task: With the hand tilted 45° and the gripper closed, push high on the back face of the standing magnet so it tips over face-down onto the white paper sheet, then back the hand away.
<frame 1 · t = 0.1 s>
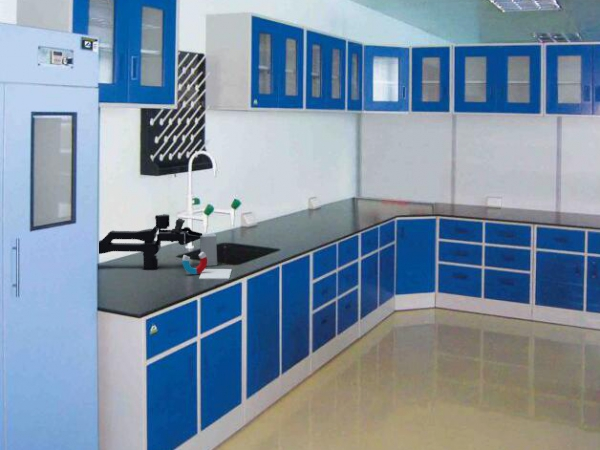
hand: (201, 235, 380), 17 cm above the countertop, tool horizontal, fingers open, 9 cm apart
magnet: (196, 274, 369), on the countertop, touching white paper sheet
white paper sheet: (215, 274, 370), on the countertop
skincare box: (208, 265, 391), on the countertop
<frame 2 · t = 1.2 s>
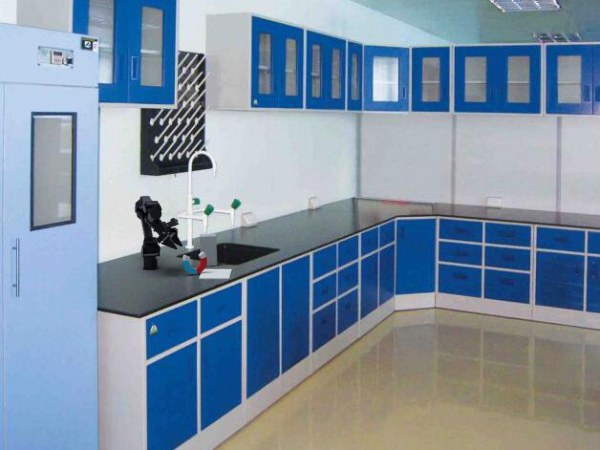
hand: (179, 247, 369), 13 cm above the countertop, tool tilted 45°, fingers open, 9 cm apart
nothing on the countertop moved.
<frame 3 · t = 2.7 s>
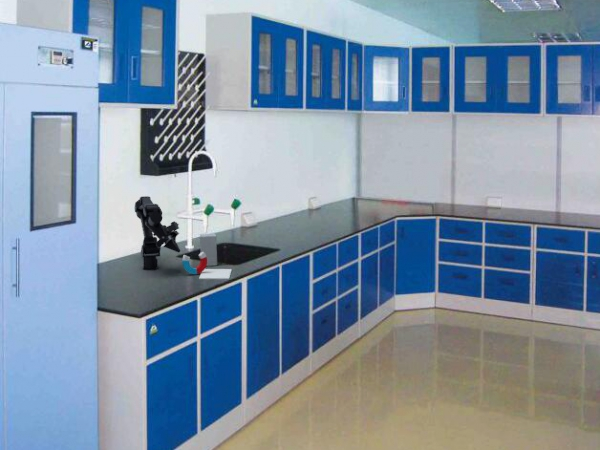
hand: (179, 251, 369), 11 cm above the countertop, tool tilted 45°, fingers closed
nothing on the countertop moved.
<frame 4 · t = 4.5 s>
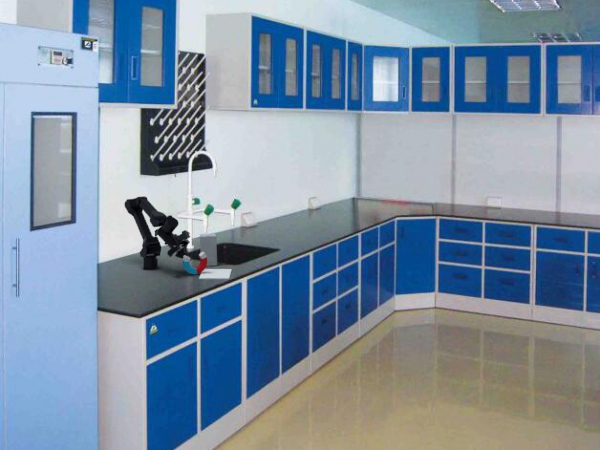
hand: (190, 260, 369), 7 cm above the countertop, tool tilted 45°, fingers closed
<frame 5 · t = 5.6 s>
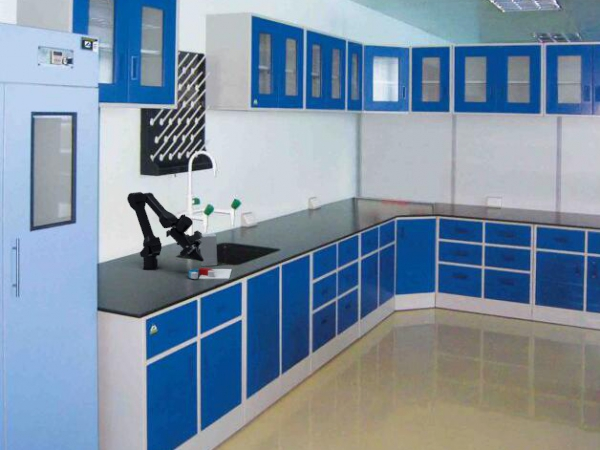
hand: (203, 260, 368), 7 cm above the countertop, tool tilted 45°, fingers closed
magnet: (197, 271, 368), point 2 cm above the countertop, touching white paper sheet
everything else where it was.
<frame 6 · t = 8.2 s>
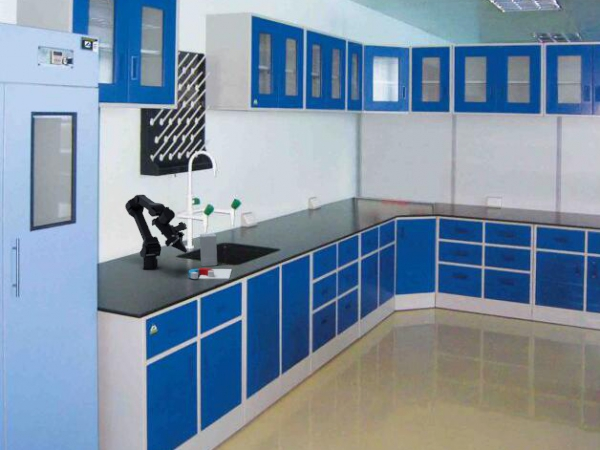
hand: (186, 252, 369), 11 cm above the countertop, tool tilted 40°, fingers closed
nothing on the countertop moved.
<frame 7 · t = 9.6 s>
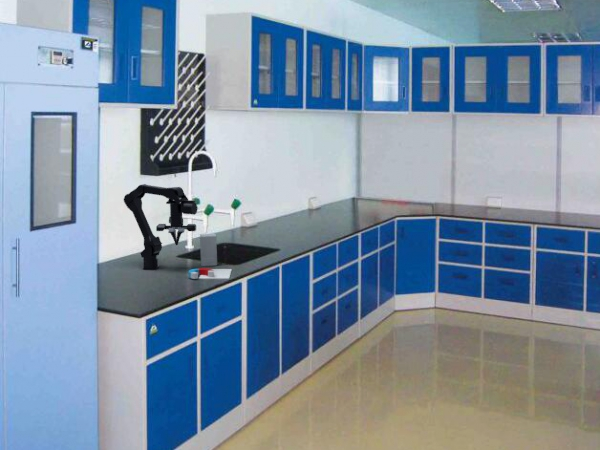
hand: (176, 245, 374), 13 cm above the countertop, tool pointing down, fingers closed
nothing on the countertop moved.
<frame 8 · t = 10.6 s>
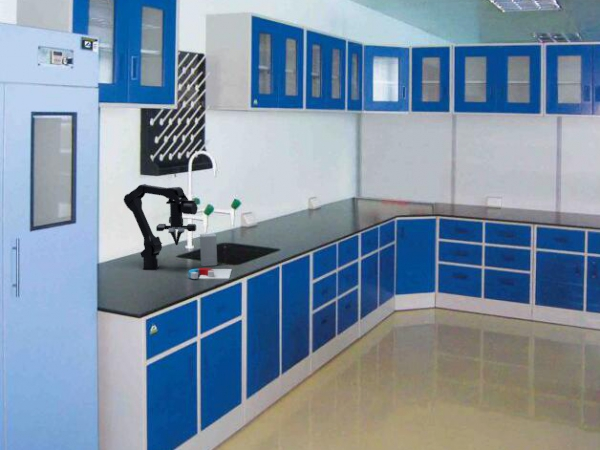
hand: (176, 245, 374), 13 cm above the countertop, tool pointing down, fingers closed
nothing on the countertop moved.
at the end: magnet tilted 90°; magnet touching white paper sheet; magnet inside the target area (5.6 cm from its centre), point 1.9 cm above the countertop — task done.
